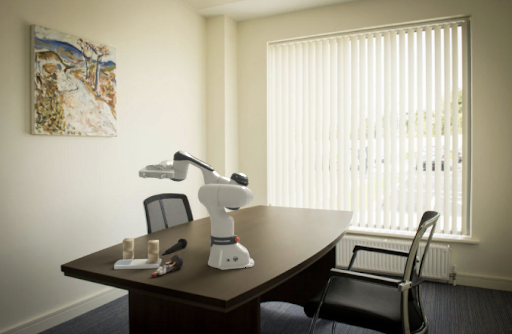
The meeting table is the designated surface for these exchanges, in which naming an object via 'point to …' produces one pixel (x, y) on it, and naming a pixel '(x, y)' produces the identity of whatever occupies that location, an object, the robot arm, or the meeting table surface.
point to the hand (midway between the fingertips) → (152, 177)
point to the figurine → (169, 266)
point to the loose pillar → (128, 248)
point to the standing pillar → (153, 251)
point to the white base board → (136, 264)
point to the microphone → (177, 246)
